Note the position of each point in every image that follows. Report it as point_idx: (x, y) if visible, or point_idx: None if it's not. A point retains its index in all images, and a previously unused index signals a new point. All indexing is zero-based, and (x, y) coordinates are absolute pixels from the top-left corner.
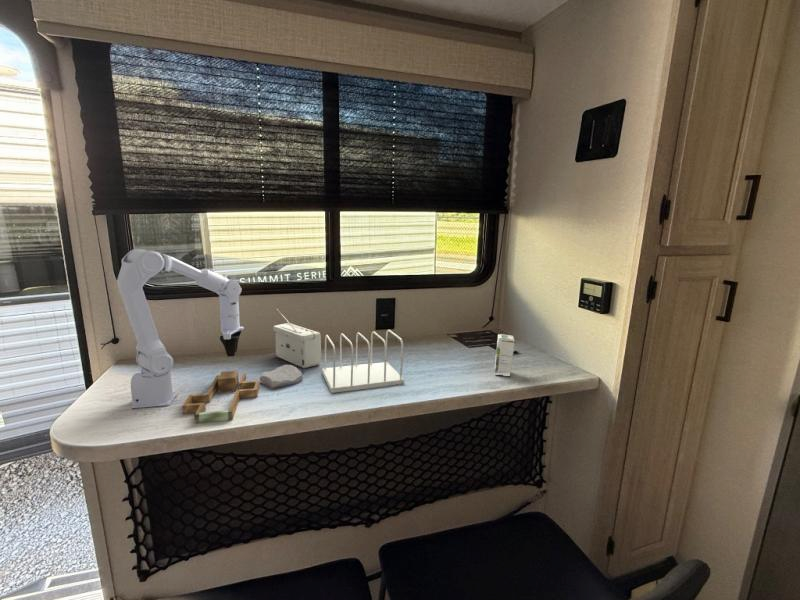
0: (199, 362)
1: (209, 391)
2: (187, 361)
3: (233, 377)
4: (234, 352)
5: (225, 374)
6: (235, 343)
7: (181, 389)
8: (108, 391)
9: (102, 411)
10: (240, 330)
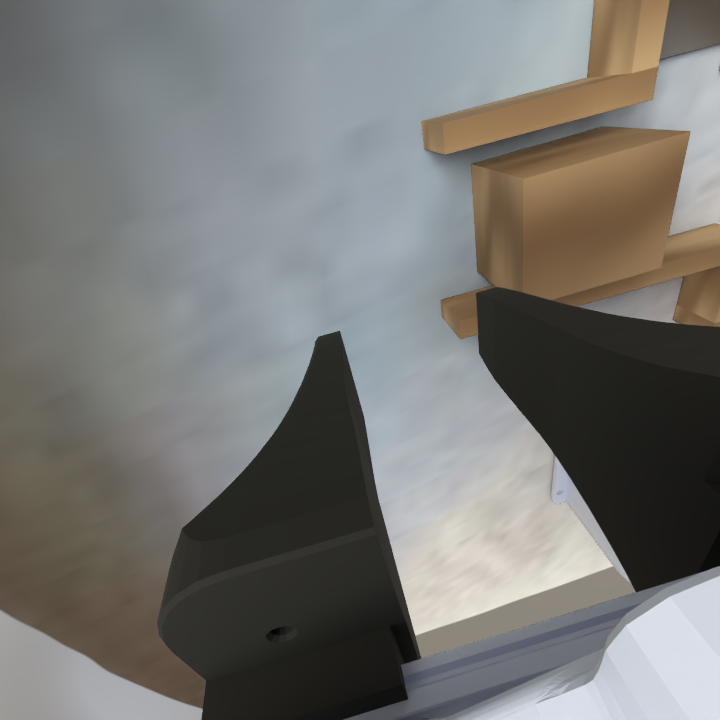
0: (149, 536)
1: (712, 258)
2: (154, 580)
3: (678, 152)
4: (531, 296)
5: (588, 252)
6: (706, 329)
7: (508, 426)
8: (481, 590)
9: None
10: (215, 600)
